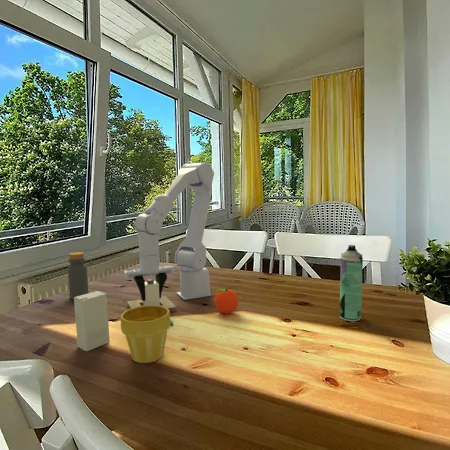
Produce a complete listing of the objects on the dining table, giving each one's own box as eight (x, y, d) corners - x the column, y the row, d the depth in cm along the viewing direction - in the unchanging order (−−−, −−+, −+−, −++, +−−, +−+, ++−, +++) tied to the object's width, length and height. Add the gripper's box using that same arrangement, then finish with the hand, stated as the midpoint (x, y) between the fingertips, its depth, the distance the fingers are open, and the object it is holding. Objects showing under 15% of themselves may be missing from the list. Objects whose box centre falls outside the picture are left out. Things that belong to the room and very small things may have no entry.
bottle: (82, 300, 115) (79, 255, 114) (66, 299, 117) (63, 254, 115) (92, 295, 121) (89, 251, 119) (76, 294, 122) (74, 251, 121)
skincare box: (100, 338, 86) (97, 289, 85) (110, 343, 83) (108, 293, 82) (76, 347, 81) (72, 296, 80) (86, 353, 79) (82, 300, 77)
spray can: (360, 316, 97) (362, 244, 95) (361, 323, 92) (363, 247, 90) (339, 314, 99) (341, 243, 97) (339, 321, 94) (340, 246, 92)
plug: (156, 302, 109) (155, 277, 108) (159, 306, 105) (158, 280, 105) (143, 304, 107) (142, 279, 107) (146, 308, 104) (145, 282, 103)
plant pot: (112, 363, 74) (109, 318, 73) (140, 342, 83) (138, 302, 82) (155, 372, 70) (153, 324, 69) (180, 349, 80) (178, 307, 78)
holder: (165, 299, 115) (165, 295, 115) (176, 310, 104) (176, 306, 104) (127, 305, 110) (127, 301, 110) (135, 318, 99) (134, 313, 99)
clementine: (207, 315, 100) (206, 290, 99) (216, 307, 107) (215, 284, 106) (234, 318, 97) (233, 293, 97) (241, 310, 104) (241, 286, 103)
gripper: (169, 249, 111) (170, 291, 113) (121, 254, 105) (124, 298, 107) (176, 253, 105) (177, 298, 106) (125, 258, 99) (128, 305, 100)
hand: (151, 298), depth 106 cm, fingers closed on plug, 4 cm apart
